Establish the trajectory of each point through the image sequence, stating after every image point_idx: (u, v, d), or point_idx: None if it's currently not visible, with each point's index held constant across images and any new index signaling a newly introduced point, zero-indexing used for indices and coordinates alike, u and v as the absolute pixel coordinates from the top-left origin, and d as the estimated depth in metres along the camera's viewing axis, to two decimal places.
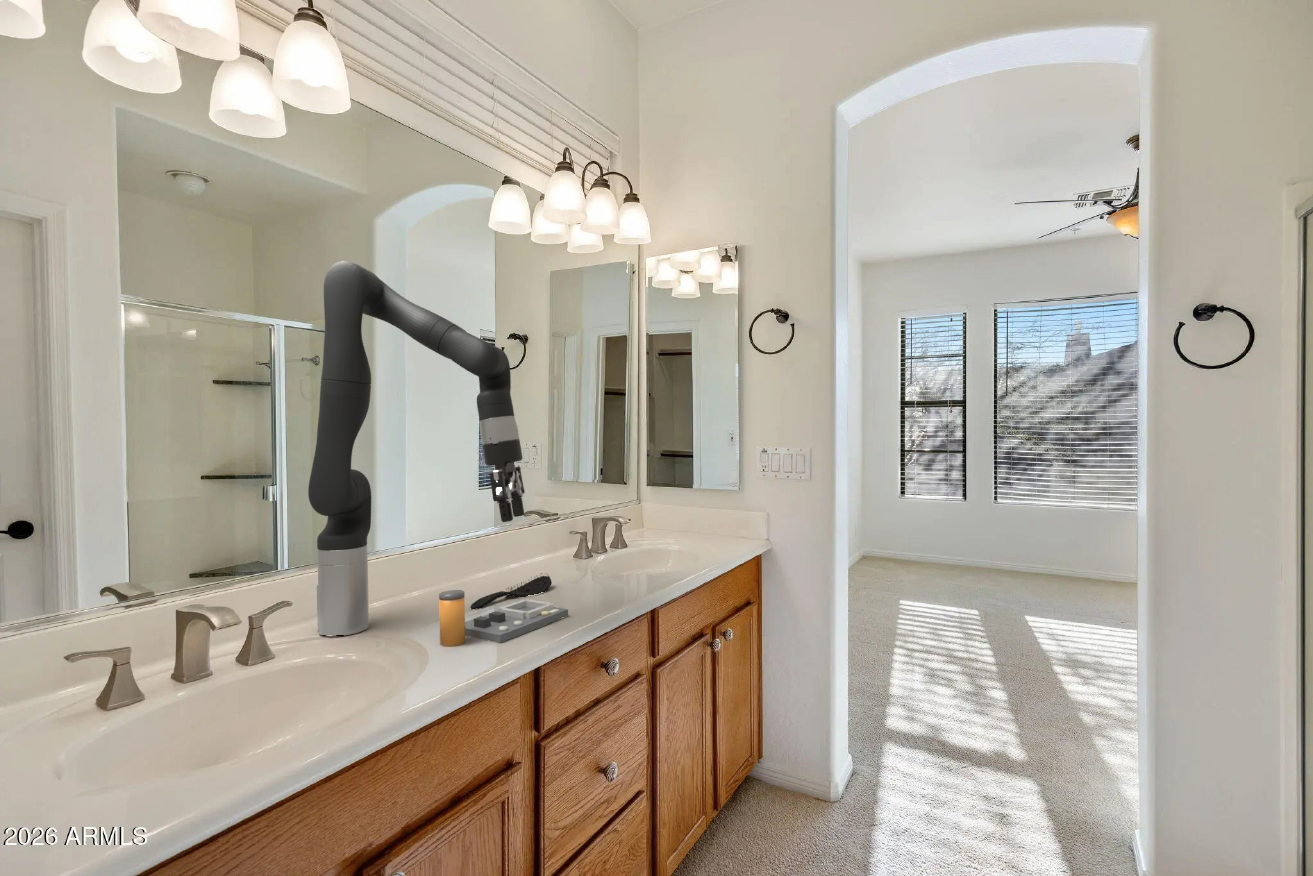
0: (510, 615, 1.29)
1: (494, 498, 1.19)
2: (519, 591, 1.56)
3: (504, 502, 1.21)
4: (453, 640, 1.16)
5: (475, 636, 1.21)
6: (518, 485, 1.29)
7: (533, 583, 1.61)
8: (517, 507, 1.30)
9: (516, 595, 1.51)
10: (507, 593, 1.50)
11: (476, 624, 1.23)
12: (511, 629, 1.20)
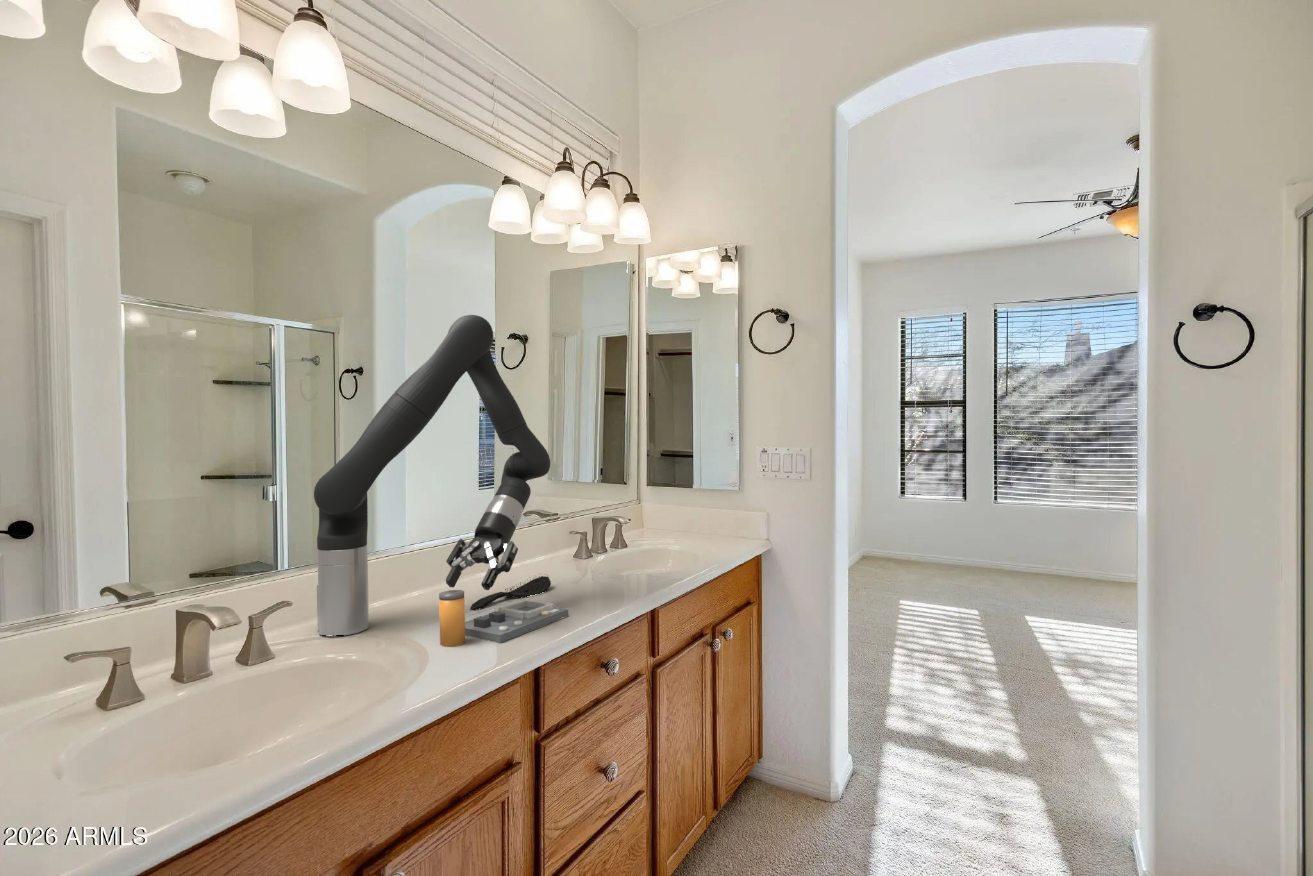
0: (510, 615, 1.29)
1: (505, 564, 1.22)
2: (518, 592, 1.56)
3: (498, 572, 1.23)
4: (453, 640, 1.16)
5: (475, 636, 1.21)
6: (474, 562, 1.28)
7: (532, 583, 1.60)
8: (455, 577, 1.25)
9: (516, 596, 1.50)
10: (507, 594, 1.49)
11: (476, 624, 1.23)
12: (511, 629, 1.20)
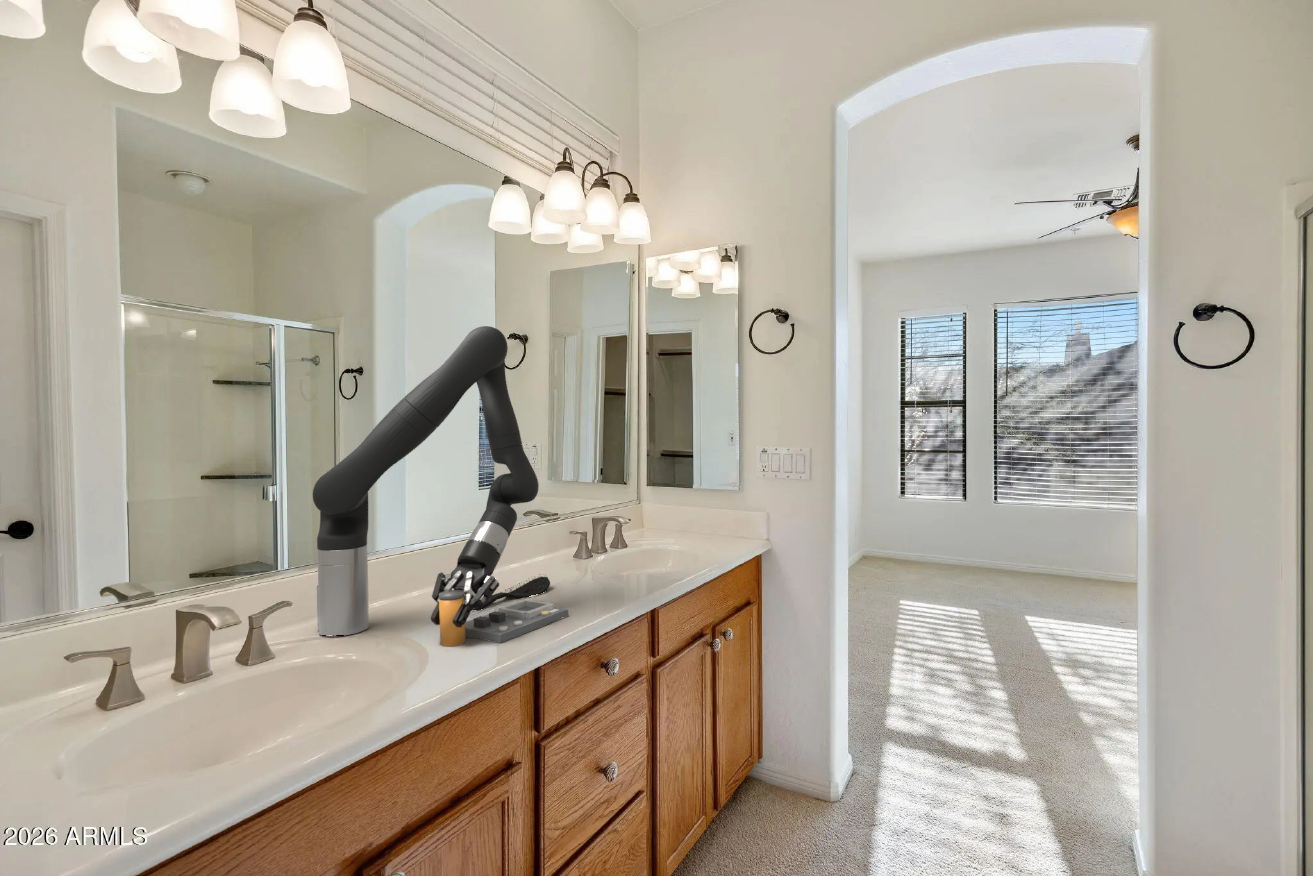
0: (510, 615, 1.29)
1: (477, 600, 1.17)
2: (518, 592, 1.55)
3: (471, 608, 1.18)
4: (453, 640, 1.16)
5: (475, 636, 1.21)
6: None
7: (531, 584, 1.60)
8: None
9: (516, 596, 1.50)
10: (507, 594, 1.49)
11: (476, 624, 1.23)
12: (511, 629, 1.20)
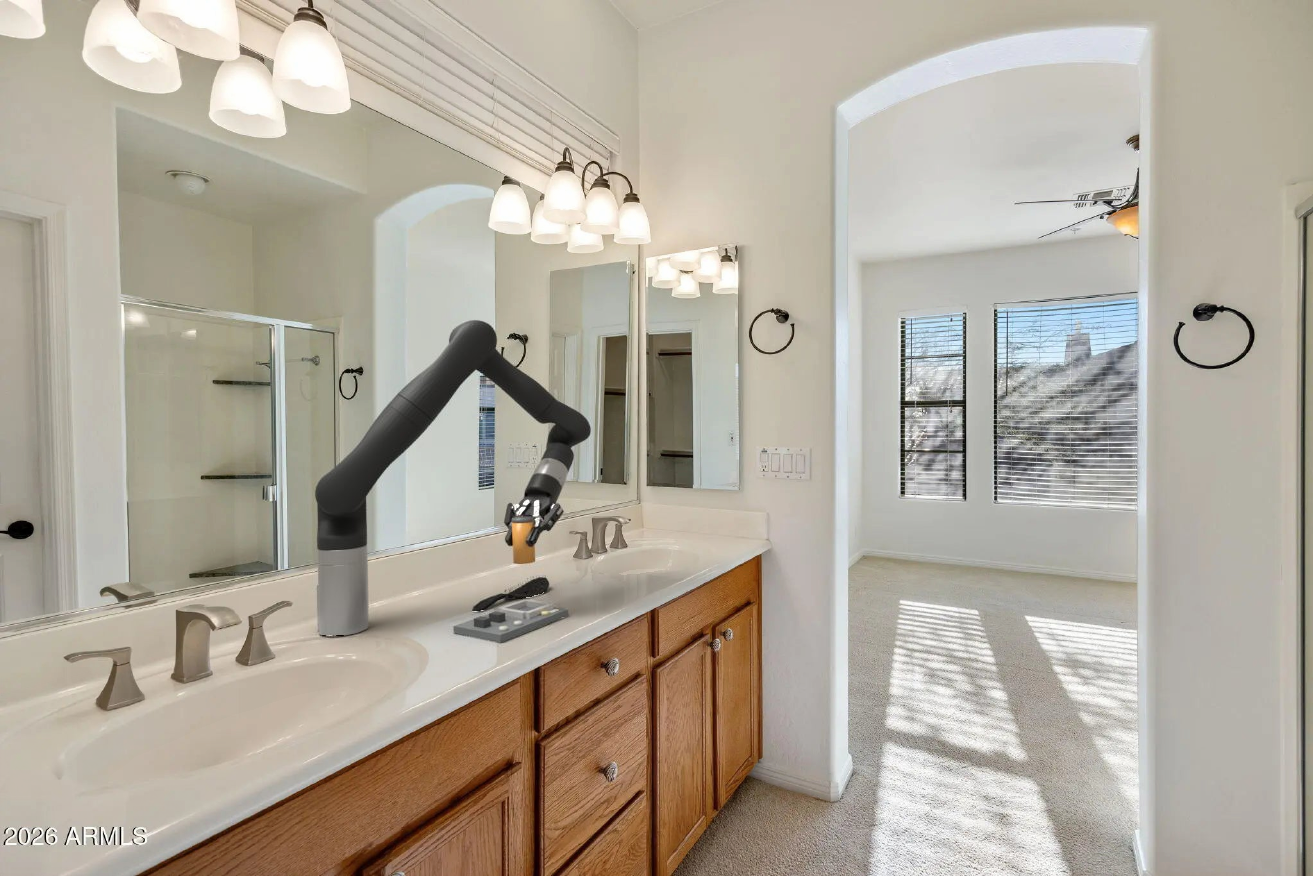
0: (510, 615, 1.29)
1: (546, 523, 1.31)
2: (517, 593, 1.54)
3: (541, 530, 1.32)
4: (525, 558, 1.30)
5: (475, 636, 1.21)
6: None
7: (530, 585, 1.59)
8: None
9: (516, 597, 1.49)
10: (507, 595, 1.48)
11: (476, 624, 1.23)
12: (511, 629, 1.20)
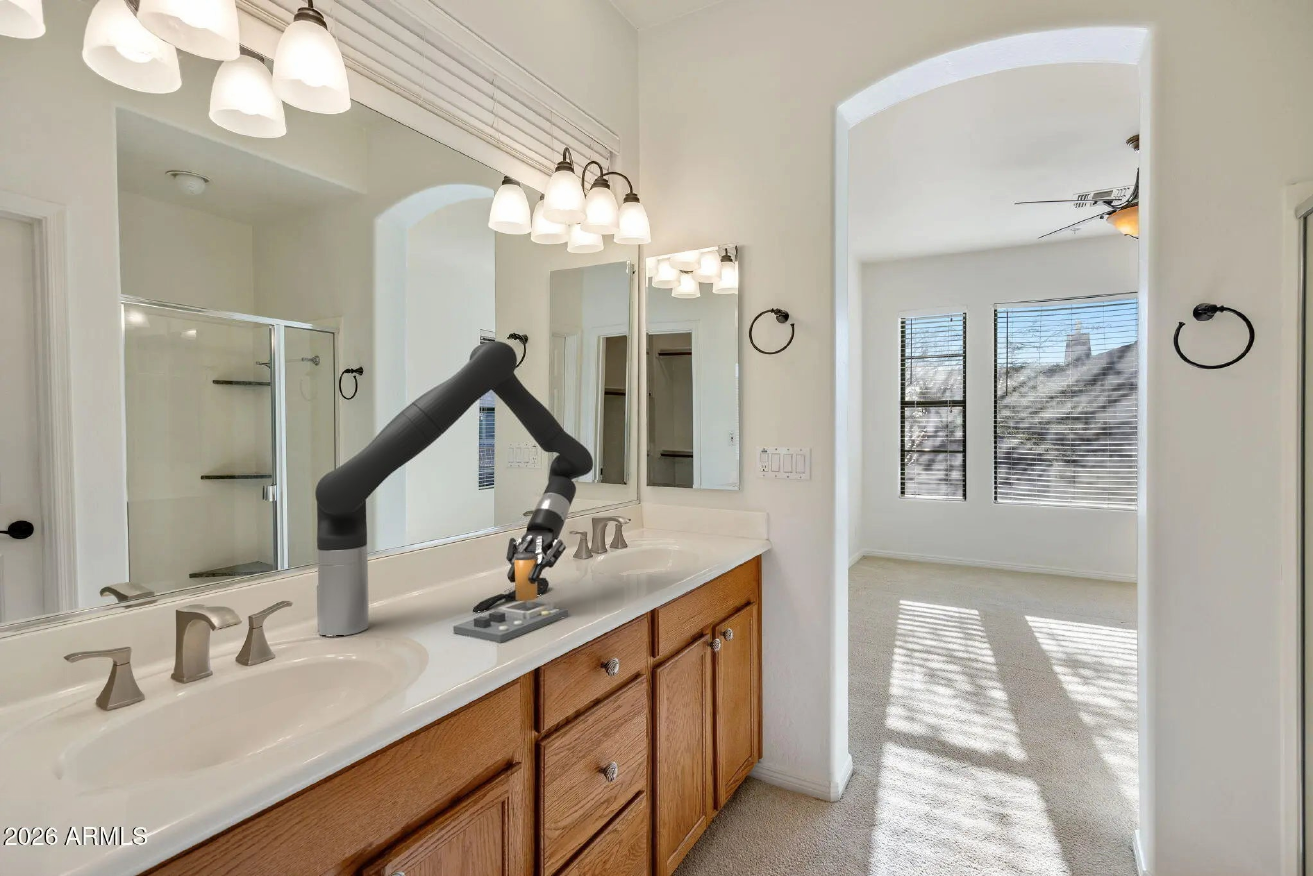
0: (510, 615, 1.29)
1: (549, 560, 1.32)
2: None
3: (543, 567, 1.33)
4: (528, 595, 1.31)
5: (475, 636, 1.21)
6: None
7: None
8: None
9: None
10: (507, 596, 1.47)
11: (476, 624, 1.23)
12: (511, 629, 1.20)
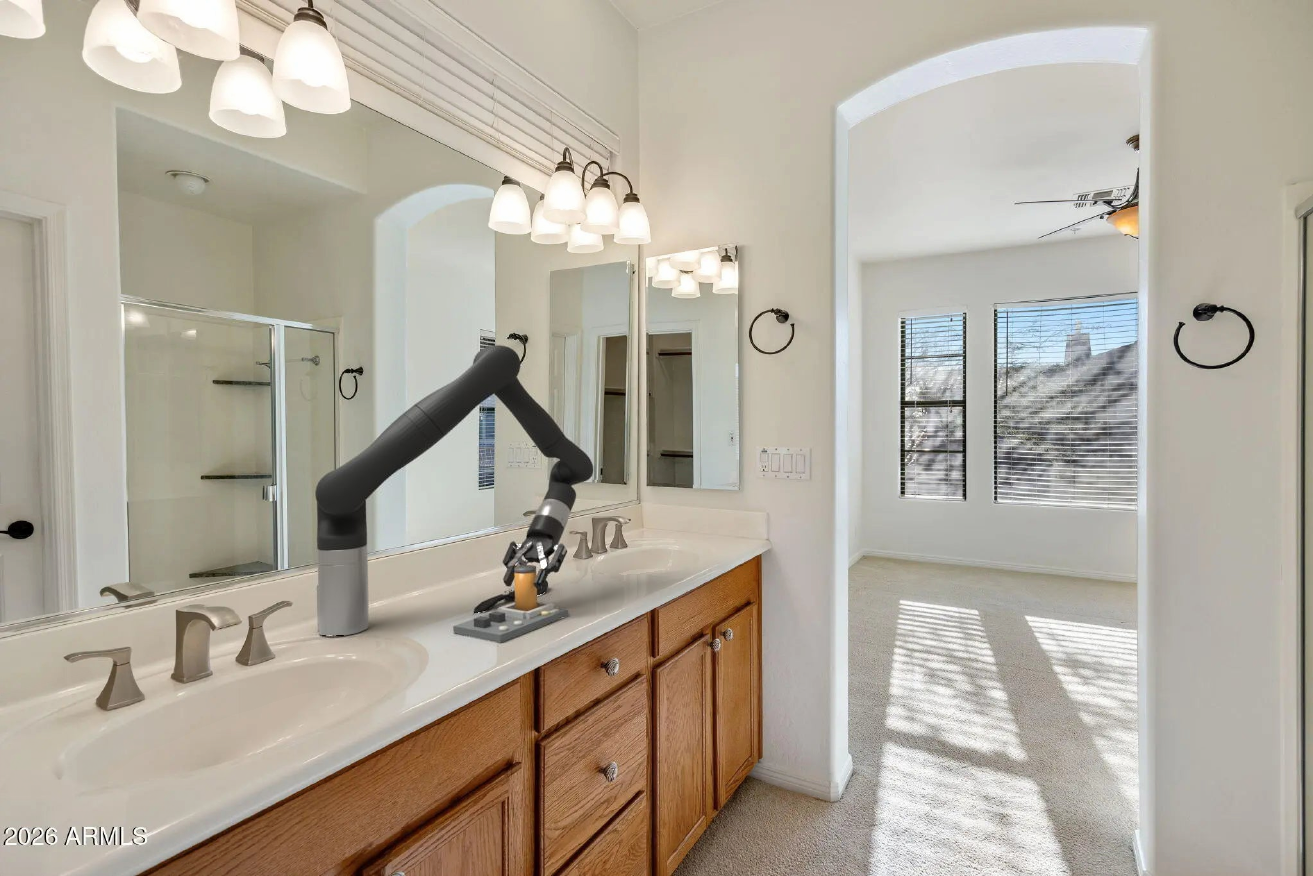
0: (510, 615, 1.29)
1: (554, 565, 1.32)
2: None
3: (548, 572, 1.33)
4: (527, 609, 1.31)
5: (475, 636, 1.21)
6: (527, 562, 1.38)
7: None
8: (511, 577, 1.34)
9: None
10: (507, 596, 1.47)
11: (476, 624, 1.23)
12: (511, 629, 1.20)
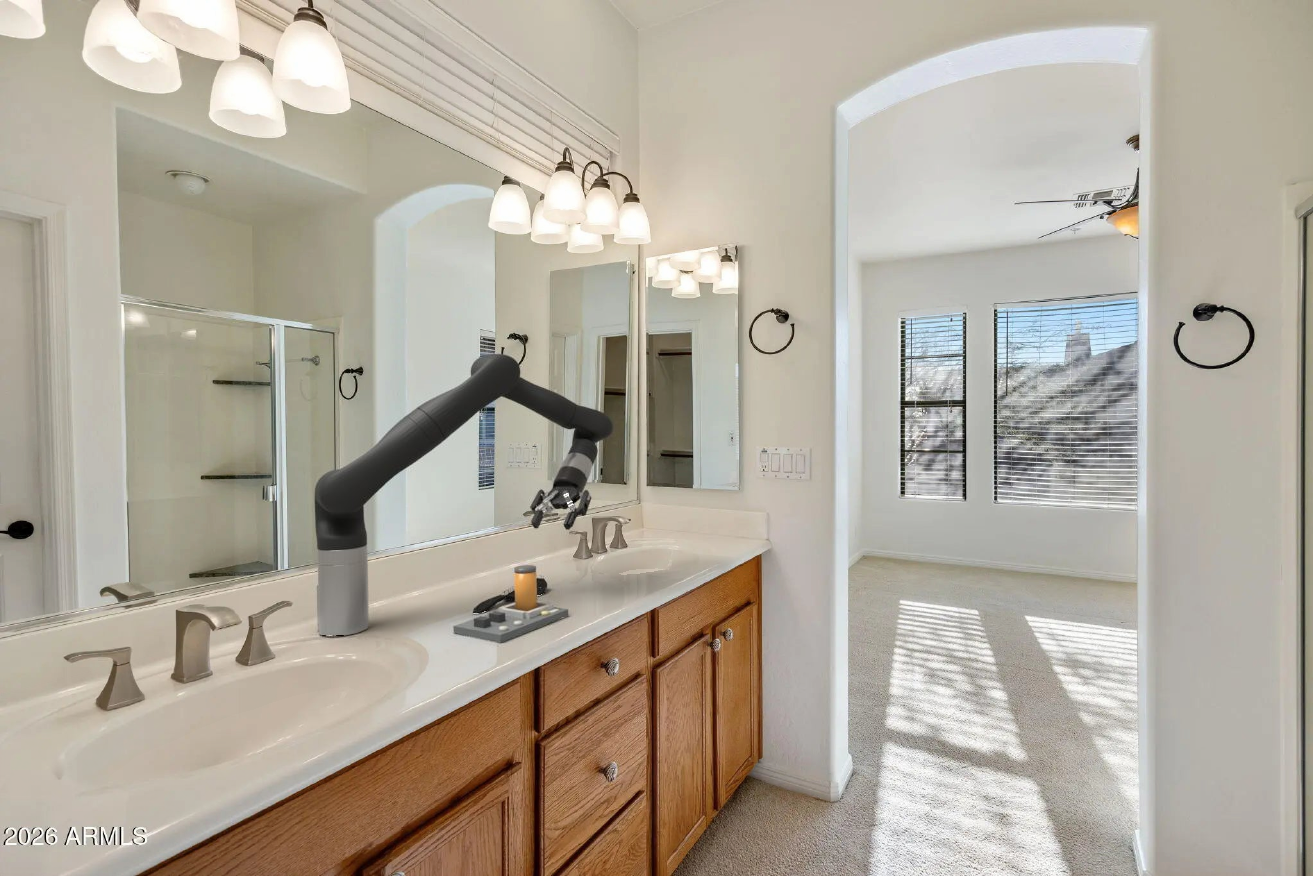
0: (510, 615, 1.29)
1: (582, 508, 1.44)
2: None
3: (577, 515, 1.45)
4: (527, 609, 1.31)
5: (475, 636, 1.21)
6: (553, 508, 1.50)
7: None
8: (538, 520, 1.47)
9: None
10: (507, 596, 1.46)
11: (476, 624, 1.23)
12: (511, 629, 1.20)
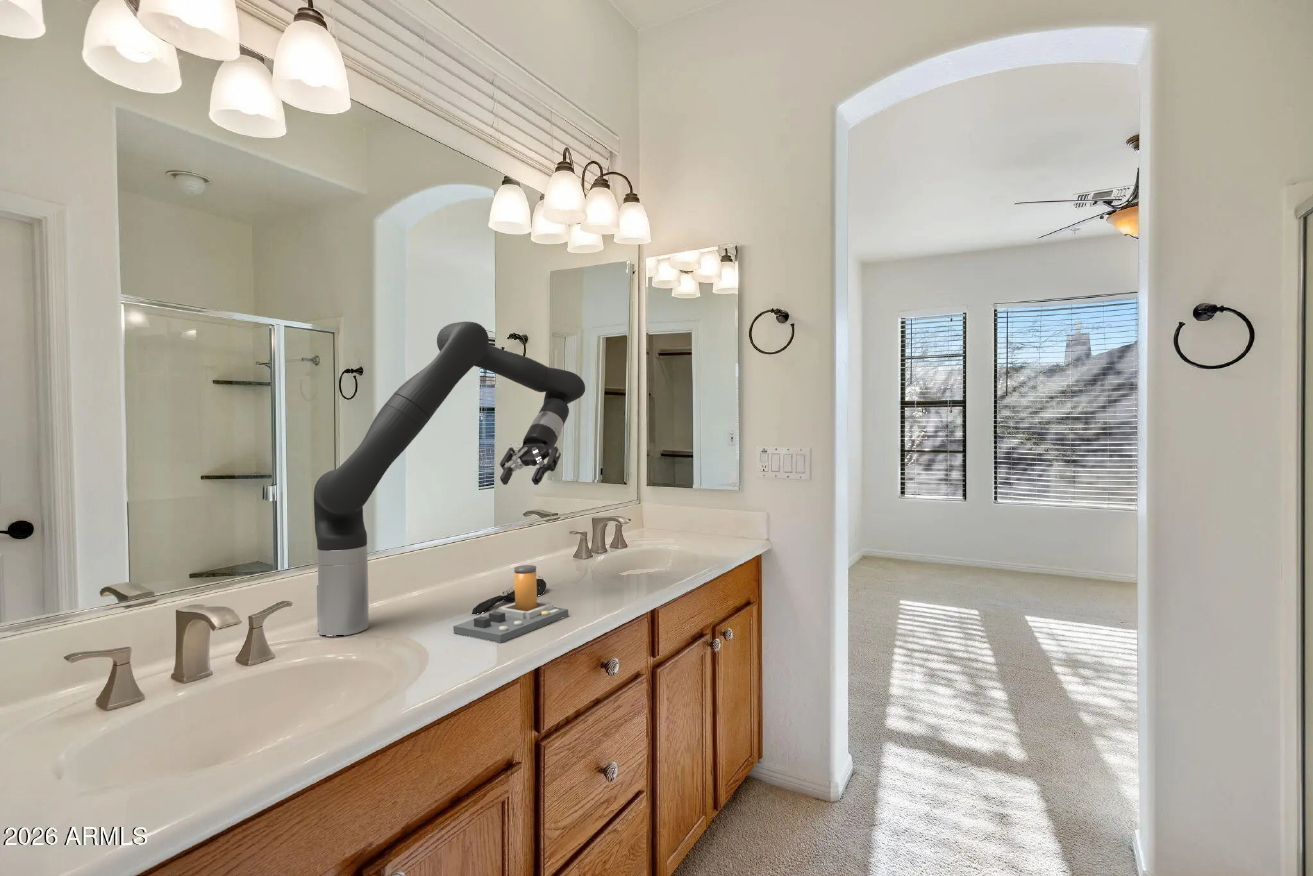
0: (510, 615, 1.29)
1: (551, 463, 1.44)
2: None
3: (545, 471, 1.44)
4: (527, 609, 1.31)
5: (475, 636, 1.21)
6: (523, 466, 1.50)
7: None
8: (507, 476, 1.46)
9: None
10: (506, 597, 1.46)
11: (476, 624, 1.23)
12: (511, 629, 1.20)
